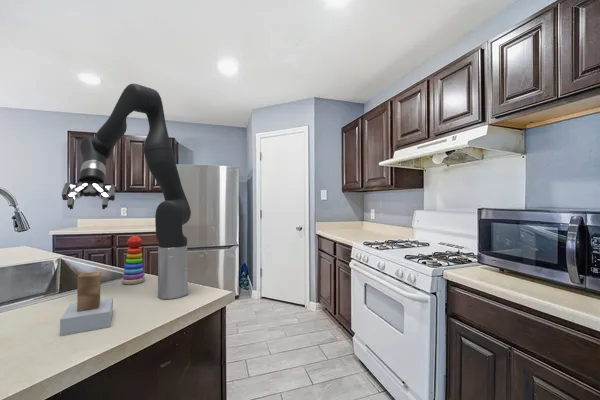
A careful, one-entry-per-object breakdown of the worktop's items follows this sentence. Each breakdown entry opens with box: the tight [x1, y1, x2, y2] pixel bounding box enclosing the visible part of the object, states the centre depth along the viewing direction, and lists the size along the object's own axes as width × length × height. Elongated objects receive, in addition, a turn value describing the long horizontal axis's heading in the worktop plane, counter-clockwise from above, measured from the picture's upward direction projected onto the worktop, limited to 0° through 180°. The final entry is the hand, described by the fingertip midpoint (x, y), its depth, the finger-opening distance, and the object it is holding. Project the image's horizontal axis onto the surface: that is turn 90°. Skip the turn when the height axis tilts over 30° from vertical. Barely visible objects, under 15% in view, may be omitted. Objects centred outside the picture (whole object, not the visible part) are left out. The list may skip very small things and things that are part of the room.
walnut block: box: [76, 271, 101, 312], centre depth 76 cm, size 4×4×9 cm
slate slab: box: [59, 297, 114, 337], centre depth 76 cm, size 10×12×4 cm
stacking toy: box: [121, 235, 145, 286], centre depth 113 cm, size 8×8×19 cm
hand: (87, 207), depth 91 cm, fingers open, 8 cm apart
